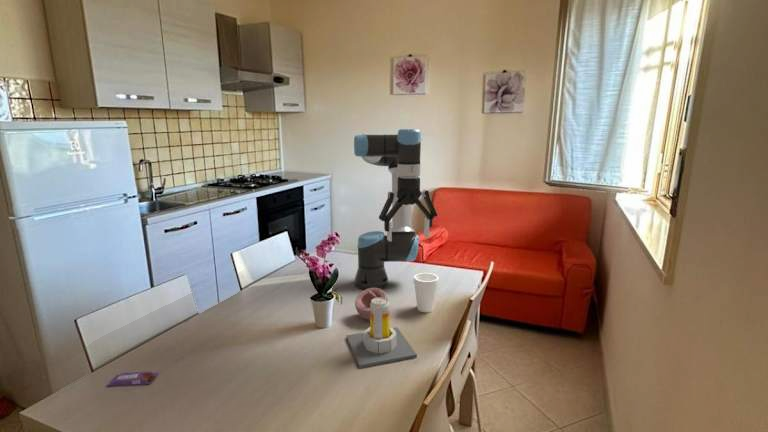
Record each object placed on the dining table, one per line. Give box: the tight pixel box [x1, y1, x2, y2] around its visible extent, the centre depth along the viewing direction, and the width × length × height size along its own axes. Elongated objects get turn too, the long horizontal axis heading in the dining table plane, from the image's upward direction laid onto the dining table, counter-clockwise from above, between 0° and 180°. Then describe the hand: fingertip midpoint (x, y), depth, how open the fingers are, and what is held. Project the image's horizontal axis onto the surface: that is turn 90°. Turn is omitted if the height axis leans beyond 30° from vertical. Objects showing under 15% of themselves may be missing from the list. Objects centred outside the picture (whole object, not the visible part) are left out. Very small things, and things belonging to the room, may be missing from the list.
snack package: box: [106, 371, 159, 387], centre depth 112 cm, size 12×2×5 cm
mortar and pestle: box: [354, 288, 388, 321], centre depth 147 cm, size 12×12×12 cm
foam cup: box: [413, 272, 440, 313], centre depth 154 cm, size 10×9×13 cm
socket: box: [346, 326, 418, 369], centre depth 128 cm, size 18×18×5 cm
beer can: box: [369, 297, 391, 340], centre depth 127 cm, size 6×6×15 cm
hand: (408, 238), depth 137 cm, fingers open, 13 cm apart
